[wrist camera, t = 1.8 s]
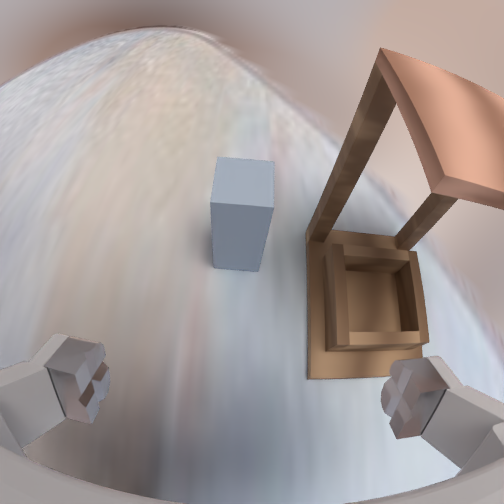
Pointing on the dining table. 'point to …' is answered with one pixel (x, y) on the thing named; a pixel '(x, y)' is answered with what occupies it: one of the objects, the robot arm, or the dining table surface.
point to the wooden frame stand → (397, 248)
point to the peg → (241, 212)
